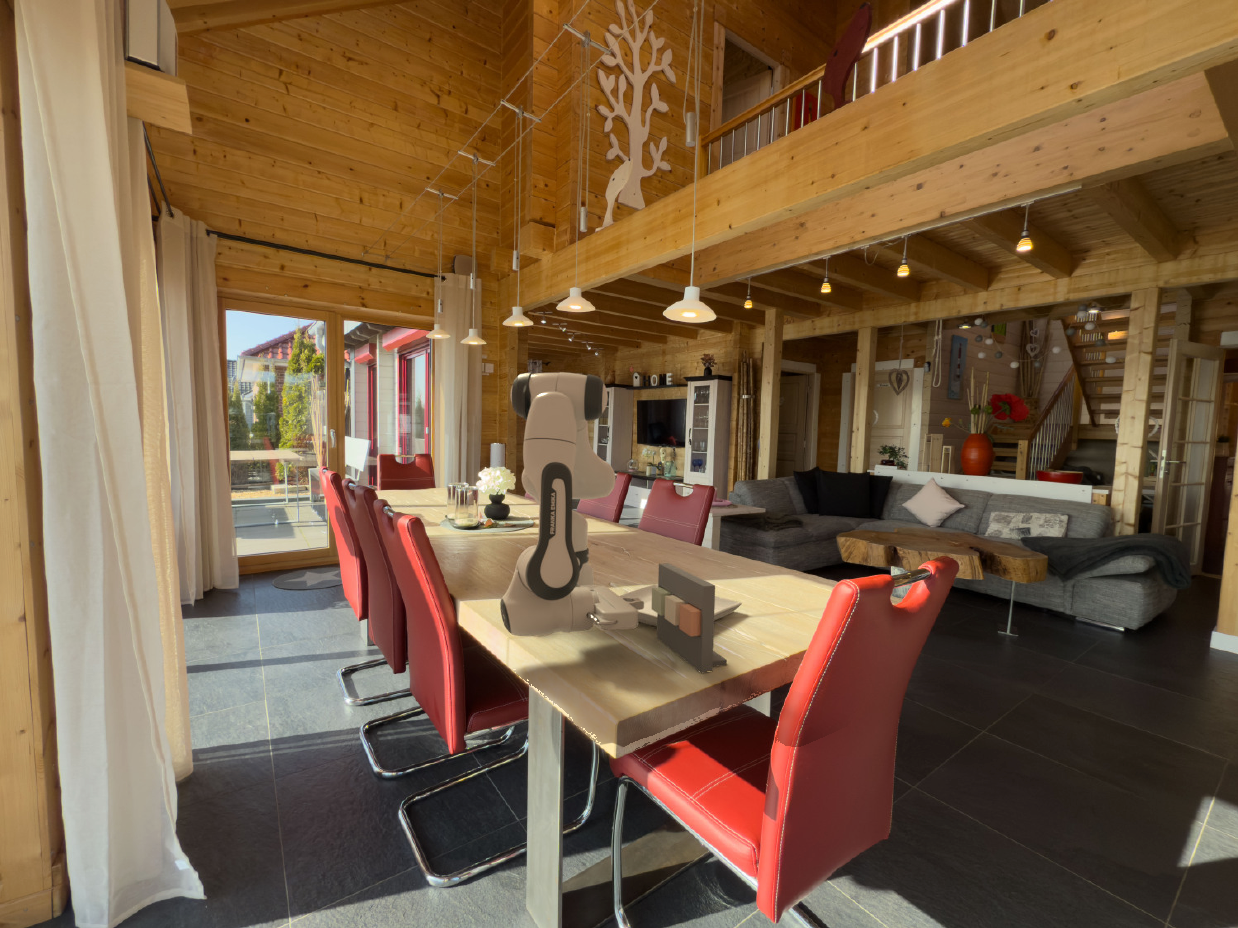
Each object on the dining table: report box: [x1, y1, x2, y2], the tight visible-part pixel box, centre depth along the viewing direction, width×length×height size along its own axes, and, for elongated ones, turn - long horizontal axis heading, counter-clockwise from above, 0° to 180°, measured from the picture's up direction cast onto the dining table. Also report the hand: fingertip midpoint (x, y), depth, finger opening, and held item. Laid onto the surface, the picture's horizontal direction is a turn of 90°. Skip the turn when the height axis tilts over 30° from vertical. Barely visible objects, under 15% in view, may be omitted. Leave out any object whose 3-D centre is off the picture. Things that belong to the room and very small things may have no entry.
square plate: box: [619, 583, 742, 627], centre depth 143 cm, size 27×27×4 cm
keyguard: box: [656, 562, 728, 674], centre depth 118 cm, size 20×7×17 cm, turn 22°
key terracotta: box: [679, 604, 701, 636], centre depth 110 cm, size 5×4×5 cm
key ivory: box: [665, 595, 685, 626], centre depth 116 cm, size 5×4×5 cm
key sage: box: [652, 587, 670, 616], centre depth 122 cm, size 5×4×5 cm
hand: (641, 603), depth 120 cm, fingers closed
